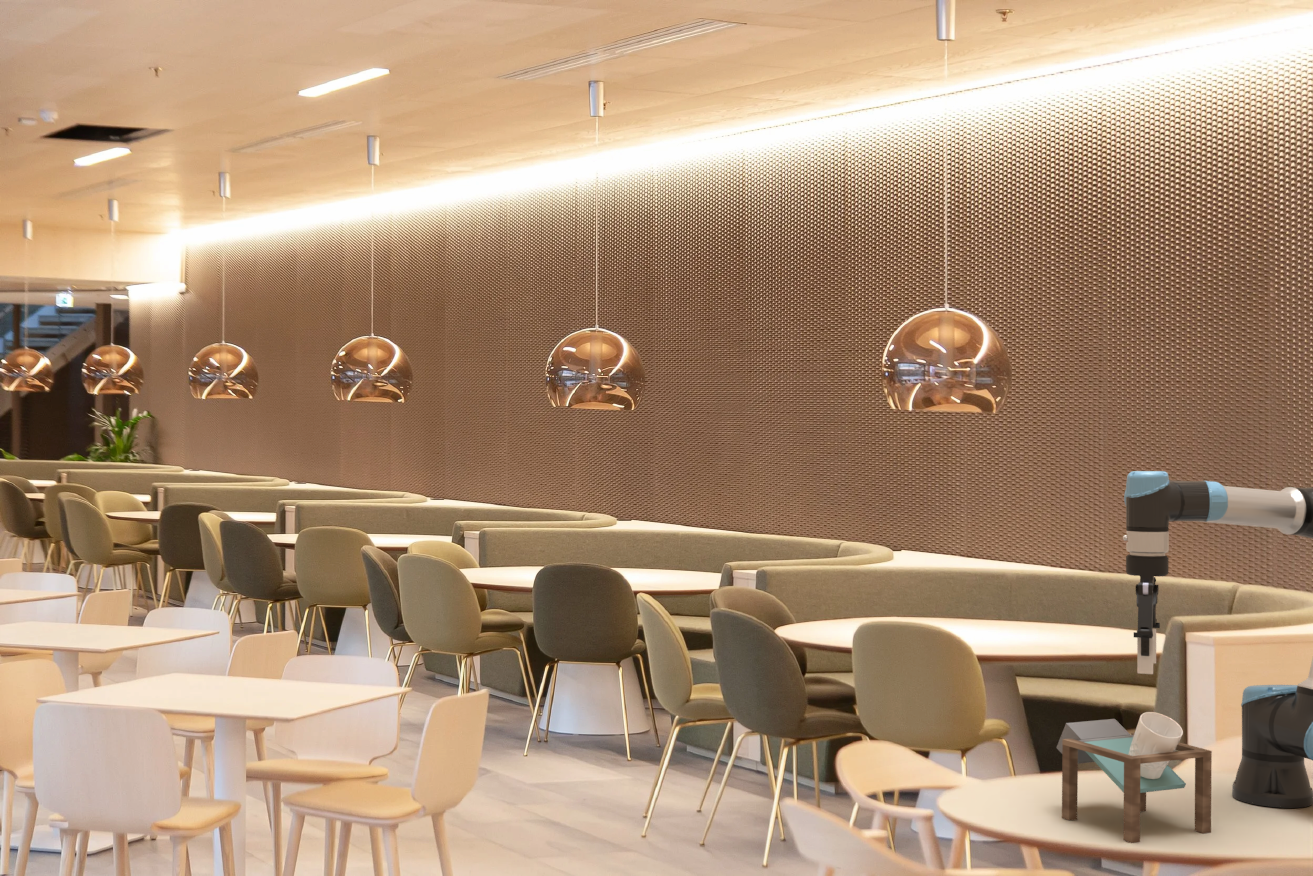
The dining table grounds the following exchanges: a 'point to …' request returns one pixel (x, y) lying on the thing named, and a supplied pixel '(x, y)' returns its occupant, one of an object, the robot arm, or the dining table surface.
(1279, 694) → the robot arm
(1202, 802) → the frame
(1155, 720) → the white cup
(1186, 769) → the dining table surface
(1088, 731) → the trapdoor
